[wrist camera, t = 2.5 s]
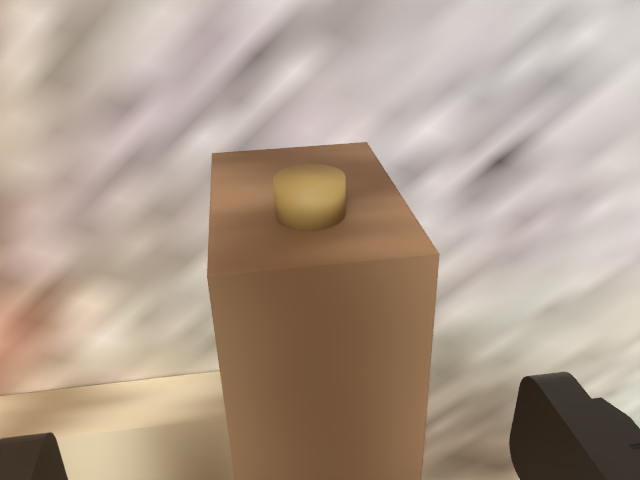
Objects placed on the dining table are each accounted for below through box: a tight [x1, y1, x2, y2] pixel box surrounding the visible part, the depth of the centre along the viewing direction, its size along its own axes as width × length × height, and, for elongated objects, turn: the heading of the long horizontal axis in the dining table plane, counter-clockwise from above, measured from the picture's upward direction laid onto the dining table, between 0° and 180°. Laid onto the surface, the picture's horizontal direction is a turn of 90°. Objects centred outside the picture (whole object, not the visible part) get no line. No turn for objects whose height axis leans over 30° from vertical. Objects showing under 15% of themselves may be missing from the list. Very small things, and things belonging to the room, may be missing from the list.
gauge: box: [207, 142, 439, 480], centre depth 16 cm, size 4×17×6 cm, turn 2°
